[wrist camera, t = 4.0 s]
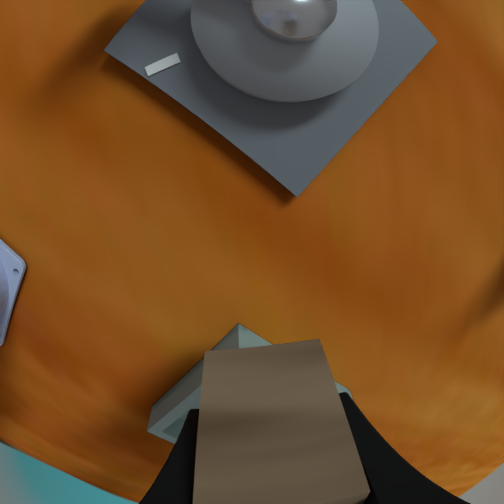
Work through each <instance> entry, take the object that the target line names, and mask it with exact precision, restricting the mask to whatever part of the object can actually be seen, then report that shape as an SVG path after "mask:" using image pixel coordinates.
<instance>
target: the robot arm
mask: <svg viewBox="0 0 504 504" xmlns="http://www.w3.org/2000/svg"><path fill="white" fill-rule="evenodd" d="M16 269H17V270H18V272H19V273H18V272H17V270H16ZM25 270H26V264H25V261H24V260H23V259H22V258H21V257H20V256H19V255H17V254H16V253H15V252H14V251H13V250H12V249H11V248H10V247H8V246H7V245H6V244H5V243H4V242H3V241H2V240H1V239H0V346H1V345H2V344H3V343H4V340H5V336H6V332H7V328H8V324H9V321H10V317H11V313H12V310H13V307H14V303H15V300H16V297H17V294H18V291H19V288H20V285H21V282H22V279H23V276H24V273H25ZM338 394H339V396H340V399H341V402H342V405H343V408H344V411H345V414H346V417H347V420H348V423H349V426H350V429H351V432H352V435H353V438H354V441H355V444H356V448H357V451H358V454H359V457H360V460H361V463H362V466H363V469H364V473H365V476H366V479H367V482H368V486H369V489H370V493H369V495H368V496H367V498H366V500H365V501H364V503H363V504H470V503H468V502H466V501H464V500H462V499H460V498H458V497H456V496H454V495H453V494H451V493H449V492H448V491H446V490H445V489H443V488H441V487H440V486H438V485H437V484H435V483H434V482H432V481H431V480H429V479H428V478H427V477H425V476H424V475H423V474H421V473H420V472H419V471H417V470H416V469H415V468H414V467H413V466H411V465H410V464H409V463H408V462H407V461H406V460H405V459H404V458H402V457H401V456H400V455H399V454H398V453H397V452H396V451H395V450H394V449H393V448H392V447H391V446H390V445H389V444H388V443H387V442H386V441H385V439H384V438H383V437H382V436H381V435H380V434H379V433H378V432H377V430H376V429H375V428H374V427H373V426H372V425H371V423H370V422H369V421H368V420H367V418H366V417H365V416H364V415H363V413H362V412H361V411H360V409H359V408H358V407H357V405H356V404H355V403H354V401H353V400H352V398H351V397H350V395H349V394H348V393H347V392H342V393H338ZM198 420H199V409H190V410H189V411H188V414H187V417H186V420H185V422H184V425H183V427H182V429H181V432H180V434H179V436H178V438H177V441H176V443H175V445H174V447H173V449H172V451H171V453H170V455H169V457H168V459H167V461H166V463H165V464H164V466H163V468H162V469H161V471H160V473H159V475H158V476H157V478H156V480H155V481H154V483H153V484H152V486H151V487H150V489H149V490H148V492H147V493H146V495H145V496H144V497H143V499H142V500H141V501H140V503H139V504H193V490H194V474H195V459H196V445H197V432H198Z"/></svg>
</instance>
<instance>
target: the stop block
mask: <svg viewBox="0 0 504 504" xmlns="http://www.w3.org/2000/svg"><path fill="white" fill-rule="evenodd" d="M369 493H370V489H369V486H368V482H367V479H366V476H365V473H364V469H363V466H362V463H361V460H360V457H359V454H358V451H357V448H356V444H355V441H354V438H353V435H352V432H351V429H350V426H349V423H348V420H347V417H346V414H345V411H344V408H343V405H342V402H341V399H340V396H339V394H338V391H337V388H336V385H335V382H334V379H333V376H332V373H331V370H330V368H329V365H328V362H327V359H326V356H325V353H324V351H323V348H322V345H321V342H320V339H314V340H307V341H299V342H292V343H284V344H276V345H267V346H258V347H248V348H238V349H226V350H214V351H205V355H204V365H203V376H202V386H201V397H200V408H199V420H198V432H197V445H196V459H195V474H194V490H193V504H363V503H364V501H365V500H366V498H367V496H368V495H369Z"/></svg>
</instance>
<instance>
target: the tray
mask: <svg viewBox="0 0 504 504" xmlns="http://www.w3.org/2000/svg"><path fill="white" fill-rule="evenodd" d="M267 345H272V344H271V343H269V342H267V341H266V340H264V339H263V338H261V337H259V336H258V335H256V334H255V333H253V332H251V331H250V330H248V329H247V328H245V327H244V326H242V325H240V324H239V323H238V324H237V325H236V326H235V327H234V328H233V329H232V330H231V331H230V332H229V333H228V334H227V335H226V336H225V337H224V338H223V339H222V340H221V341H220V342H219V343H218V344H217V345H216V346H215V347H214V348H213V349H212V350H211V351H214V350H226V349H238V348H248V347H258V346H267ZM203 365H204V358H202V359H201V360H200V361H199V362H198V363H197V364H196V365H195V366H194V367H193V368H192V369H191V370H190V371H189V372H188V373H187V374H186V375H185V376H184V377H183V378H182V379H181V380H180V381H178V382H177V383H176V384H175V385H174V386H173V387H172V388H171V389H170V390H169V391H168V392H167V393H166V394H165V395H164V396H163V397H161V398H160V399H159V400H158V401H157V402H156V403H155V404H154V405H153V406H152V408H151V413H150V417H149V422H148V427H147V432H149V433H151V434H153V435H156V436H158V437H160V438H162V439H164V440H167V441H169V442H171V443H173V444H175V443H176V441H177V438H178V436H179V434H180V432H181V429H182V427H183V425H184V422H185V420H186V417H187V414H188V411H189V410H190V409H199V408H200V397H201V386H202V376H203ZM334 382H335V381H334ZM335 385H336V388H337V391H338V393H342V392H347V393H348V394H349V395H350V397H351V398H352V396H351V393H350V391H349V389H348V388H346V387H344V386H342V385H340V384H339V383H337V382H335ZM352 400H353V399H352Z"/></svg>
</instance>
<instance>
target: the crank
mask: <svg viewBox="0 0 504 504" xmlns="http://www.w3.org/2000/svg"><path fill="white" fill-rule="evenodd" d="M241 1H243V2H246V3H248V4H250V13H251V17H252V20H253V22H254V24H255V25H256V27H257V28H258V29H259V30H260V31H261V32H262V33H263V34H264V35H266V36H267V37H269V38H270V39H273V40H275V41H277V42H280V43H284V44H303V43H307V42H310V41H312V40H314V39H316V38H317V37H319V36H320V35H321V34H322V33H323V32H324V31H325V30H326V29H327V28H328V27H330V25H331V24H332V23H333V21H334V20H335V17H336V15H337V1H336V0H241Z"/></svg>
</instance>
